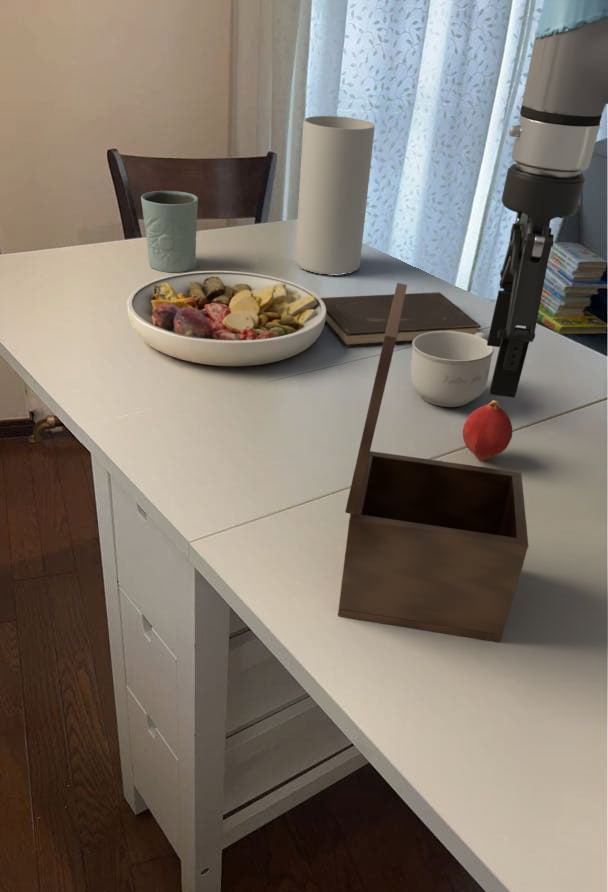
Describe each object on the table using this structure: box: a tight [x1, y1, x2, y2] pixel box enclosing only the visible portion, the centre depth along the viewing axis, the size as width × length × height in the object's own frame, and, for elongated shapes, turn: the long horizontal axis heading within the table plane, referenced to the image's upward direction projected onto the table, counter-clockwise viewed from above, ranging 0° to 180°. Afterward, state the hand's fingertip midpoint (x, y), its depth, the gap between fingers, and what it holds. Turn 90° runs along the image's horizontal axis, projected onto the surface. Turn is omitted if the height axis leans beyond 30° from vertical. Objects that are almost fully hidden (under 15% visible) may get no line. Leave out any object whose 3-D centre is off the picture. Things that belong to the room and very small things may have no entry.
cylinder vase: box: [295, 115, 376, 275], centre depth 147 cm, size 12×12×25 cm
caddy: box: [337, 450, 529, 643], centre depth 74 cm, size 15×12×11 cm
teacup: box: [410, 331, 495, 408], centre depth 110 cm, size 14×11×8 cm
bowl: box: [126, 270, 326, 367], centre depth 122 cm, size 30×30×8 cm
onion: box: [462, 399, 513, 461], centre depth 96 cm, size 6×6×8 cm
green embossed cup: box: [140, 190, 199, 273], centre depth 146 cm, size 10×10×12 cm
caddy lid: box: [344, 282, 408, 515], centre depth 66 cm, size 16×12×1 cm
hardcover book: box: [320, 291, 482, 349], centre depth 131 cm, size 16×23×2 cm
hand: (500, 369), depth 91 cm, fingers open, 13 cm apart
